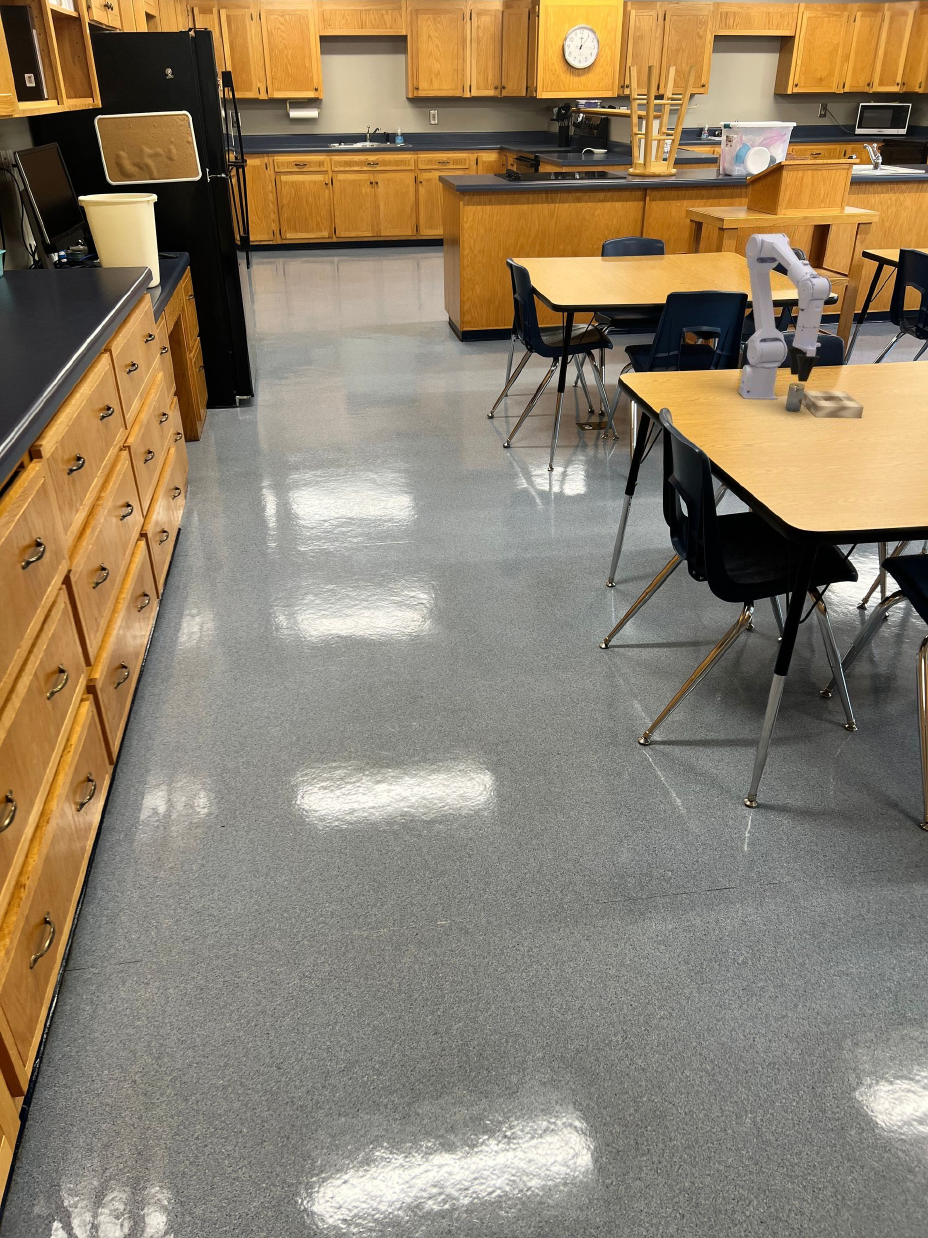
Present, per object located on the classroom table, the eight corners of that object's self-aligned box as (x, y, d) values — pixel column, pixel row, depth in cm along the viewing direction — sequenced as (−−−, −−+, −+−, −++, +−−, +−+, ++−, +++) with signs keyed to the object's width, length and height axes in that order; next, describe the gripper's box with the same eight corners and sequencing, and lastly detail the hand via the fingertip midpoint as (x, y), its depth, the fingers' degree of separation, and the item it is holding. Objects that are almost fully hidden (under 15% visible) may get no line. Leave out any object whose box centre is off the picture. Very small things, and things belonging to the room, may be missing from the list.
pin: (787, 411, 246) (791, 386, 243) (783, 407, 250) (787, 382, 247) (801, 412, 246) (806, 386, 243) (798, 408, 250) (802, 382, 246)
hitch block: (815, 416, 242) (818, 405, 241) (799, 401, 256) (801, 390, 255) (861, 417, 241) (863, 406, 240) (842, 401, 255) (845, 391, 254)
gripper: (831, 331, 231) (821, 384, 237) (815, 321, 243) (806, 371, 250) (803, 331, 231) (794, 384, 238) (789, 320, 244) (780, 371, 250)
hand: (798, 377), depth 244 cm, fingers open, 7 cm apart
